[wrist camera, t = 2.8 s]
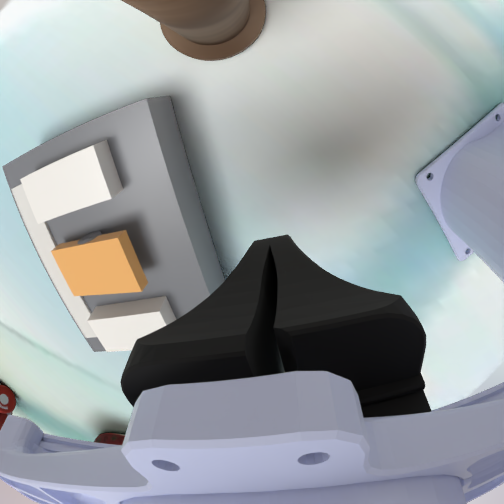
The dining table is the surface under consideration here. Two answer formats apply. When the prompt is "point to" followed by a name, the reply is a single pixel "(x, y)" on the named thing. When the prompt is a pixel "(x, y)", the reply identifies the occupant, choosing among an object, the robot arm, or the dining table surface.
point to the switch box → (121, 217)
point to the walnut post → (207, 25)
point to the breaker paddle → (100, 264)
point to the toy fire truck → (6, 403)
